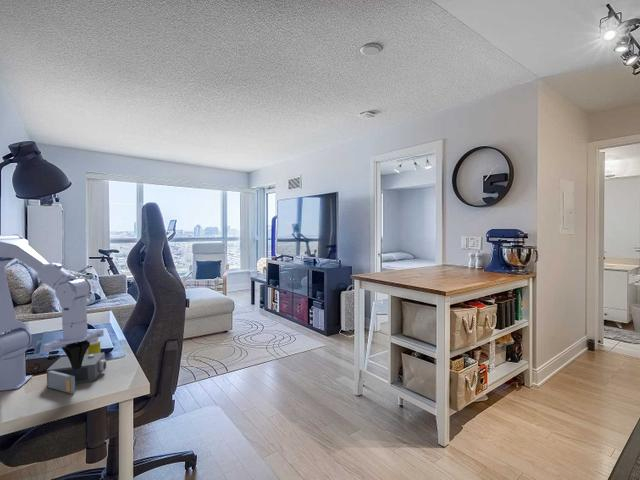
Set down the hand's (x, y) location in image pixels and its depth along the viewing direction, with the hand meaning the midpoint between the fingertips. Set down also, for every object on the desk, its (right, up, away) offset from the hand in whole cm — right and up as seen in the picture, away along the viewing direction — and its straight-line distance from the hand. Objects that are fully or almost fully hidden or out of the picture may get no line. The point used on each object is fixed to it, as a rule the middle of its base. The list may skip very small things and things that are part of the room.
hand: (76, 368), depth 95 cm
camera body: (-5, -6, +8) cm, 11 cm away
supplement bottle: (-10, -5, +21) cm, 24 cm away
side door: (-4, -6, -1) cm, 7 cm away
